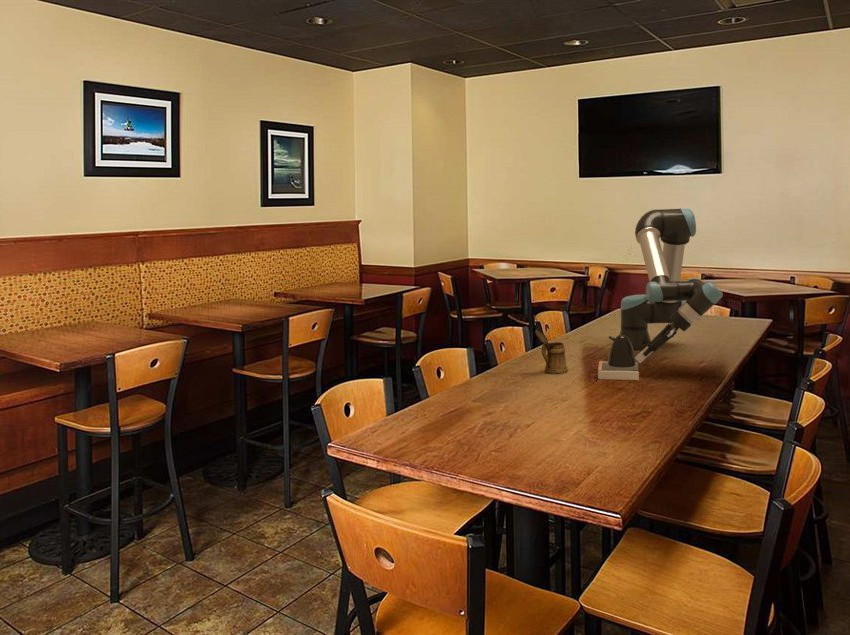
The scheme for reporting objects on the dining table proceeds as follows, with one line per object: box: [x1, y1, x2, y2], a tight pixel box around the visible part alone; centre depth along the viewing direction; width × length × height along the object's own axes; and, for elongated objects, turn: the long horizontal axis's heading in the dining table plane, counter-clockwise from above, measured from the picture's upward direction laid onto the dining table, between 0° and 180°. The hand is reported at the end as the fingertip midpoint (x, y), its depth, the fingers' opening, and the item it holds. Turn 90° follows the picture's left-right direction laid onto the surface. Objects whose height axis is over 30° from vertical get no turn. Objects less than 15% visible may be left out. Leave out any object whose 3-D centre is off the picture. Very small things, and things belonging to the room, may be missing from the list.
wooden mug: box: [534, 328, 569, 374], centre depth 282 cm, size 9×14×18 cm, turn 112°
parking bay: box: [597, 360, 640, 381], centre depth 276 cm, size 16×15×3 cm
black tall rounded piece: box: [607, 334, 636, 371], centre depth 276 cm, size 10×10×15 cm
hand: (637, 360), depth 273 cm, fingers closed
